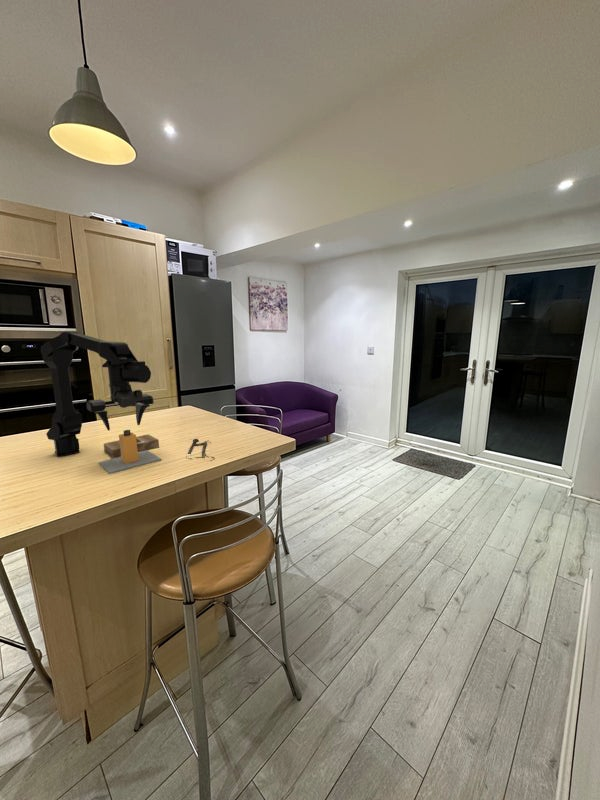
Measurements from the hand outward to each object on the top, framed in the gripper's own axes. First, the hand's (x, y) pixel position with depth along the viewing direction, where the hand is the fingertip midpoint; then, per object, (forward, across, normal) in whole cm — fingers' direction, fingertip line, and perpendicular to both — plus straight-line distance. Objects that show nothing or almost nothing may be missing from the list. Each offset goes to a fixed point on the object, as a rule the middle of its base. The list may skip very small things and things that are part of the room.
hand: (124, 427), depth 108 cm
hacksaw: (+12, +23, -9) cm, 28 cm away
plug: (+11, 0, -2) cm, 11 cm away
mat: (+12, 0, -2) cm, 12 cm away
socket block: (+12, +5, +11) cm, 17 cm away
